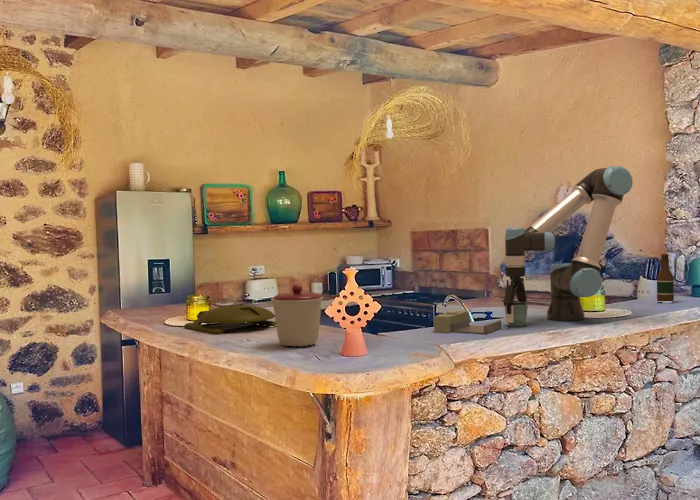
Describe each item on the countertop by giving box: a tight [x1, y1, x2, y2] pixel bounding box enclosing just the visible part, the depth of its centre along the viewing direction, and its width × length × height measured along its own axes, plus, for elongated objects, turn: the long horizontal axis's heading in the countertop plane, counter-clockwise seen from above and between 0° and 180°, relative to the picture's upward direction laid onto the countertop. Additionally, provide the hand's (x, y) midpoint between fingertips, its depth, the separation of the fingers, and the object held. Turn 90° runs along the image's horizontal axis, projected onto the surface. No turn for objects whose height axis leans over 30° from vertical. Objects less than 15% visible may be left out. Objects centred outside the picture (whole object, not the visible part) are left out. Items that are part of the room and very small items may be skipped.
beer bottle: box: [656, 253, 675, 301], centre depth 342 cm, size 8×8×24 cm
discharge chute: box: [451, 318, 502, 335], centre depth 267 cm, size 14×16×3 cm
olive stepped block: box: [433, 310, 470, 334], centre depth 273 cm, size 6×20×7 cm, turn 148°
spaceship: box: [184, 304, 276, 335], centre depth 292 cm, size 35×31×10 cm
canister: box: [270, 284, 324, 348], centre depth 243 cm, size 18×18×21 cm
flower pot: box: [504, 301, 529, 328], centre depth 276 cm, size 9×9×9 cm
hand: (515, 320), depth 277 cm, fingers open, 13 cm apart
